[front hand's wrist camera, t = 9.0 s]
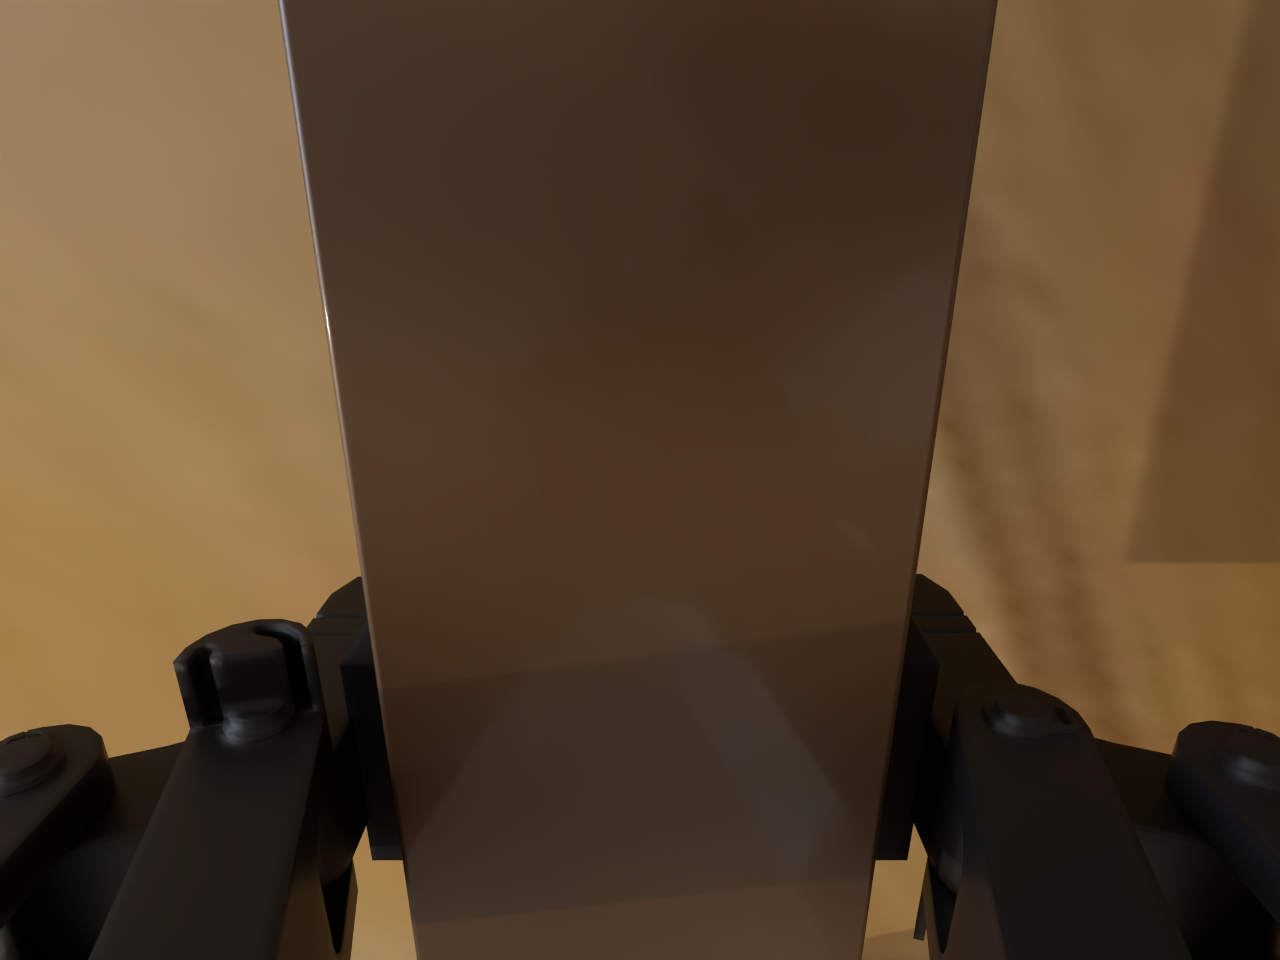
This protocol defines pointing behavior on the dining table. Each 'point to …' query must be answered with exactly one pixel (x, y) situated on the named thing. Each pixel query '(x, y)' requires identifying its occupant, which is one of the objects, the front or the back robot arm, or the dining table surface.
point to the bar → (638, 442)
